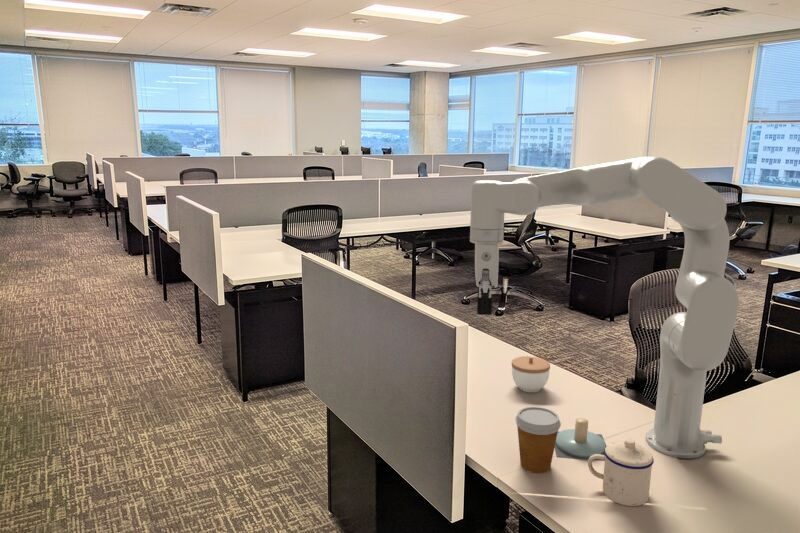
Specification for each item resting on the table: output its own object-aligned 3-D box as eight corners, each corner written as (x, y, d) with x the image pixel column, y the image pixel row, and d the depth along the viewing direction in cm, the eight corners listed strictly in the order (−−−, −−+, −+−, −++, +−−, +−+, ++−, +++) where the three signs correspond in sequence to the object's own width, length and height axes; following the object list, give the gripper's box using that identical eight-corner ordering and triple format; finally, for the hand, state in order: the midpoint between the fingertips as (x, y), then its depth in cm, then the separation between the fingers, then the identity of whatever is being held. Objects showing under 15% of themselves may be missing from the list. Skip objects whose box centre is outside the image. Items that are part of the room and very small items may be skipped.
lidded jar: (504, 383, 169) (505, 352, 167) (536, 378, 172) (537, 349, 170) (522, 398, 159) (523, 366, 157) (556, 393, 162) (558, 361, 160)
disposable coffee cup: (559, 481, 119) (562, 428, 117) (512, 476, 121) (515, 423, 119) (556, 457, 129) (559, 407, 126) (513, 452, 130) (515, 403, 128)
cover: (600, 435, 138) (601, 411, 136) (609, 459, 127) (612, 434, 126) (552, 432, 139) (554, 408, 138) (558, 455, 128) (560, 430, 127)
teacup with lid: (650, 487, 117) (655, 435, 115) (649, 512, 109) (654, 457, 107) (588, 473, 122) (592, 423, 120) (583, 497, 114) (587, 443, 112)
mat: (601, 436, 138) (601, 434, 138) (612, 462, 126) (612, 461, 126) (550, 432, 140) (550, 430, 140) (556, 458, 128) (556, 456, 128)
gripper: (504, 242, 121) (501, 320, 125) (502, 230, 138) (499, 299, 142) (469, 241, 122) (467, 318, 126) (470, 229, 139) (468, 298, 143)
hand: (484, 308), depth 134 cm, fingers open, 9 cm apart
